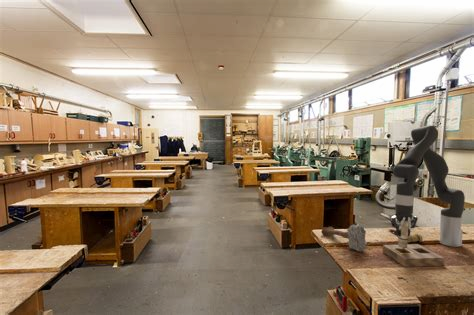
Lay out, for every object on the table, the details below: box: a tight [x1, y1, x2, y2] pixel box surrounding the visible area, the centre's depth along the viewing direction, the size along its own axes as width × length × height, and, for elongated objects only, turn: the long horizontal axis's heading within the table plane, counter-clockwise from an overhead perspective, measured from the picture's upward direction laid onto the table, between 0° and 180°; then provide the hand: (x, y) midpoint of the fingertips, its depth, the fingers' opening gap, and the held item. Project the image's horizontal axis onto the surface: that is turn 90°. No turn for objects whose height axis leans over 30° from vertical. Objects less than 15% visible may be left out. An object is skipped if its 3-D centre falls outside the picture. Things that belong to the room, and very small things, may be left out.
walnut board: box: [382, 243, 445, 268], centre depth 123 cm, size 20×16×4 cm
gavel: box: [388, 228, 423, 244], centre depth 153 cm, size 21×5×10 cm
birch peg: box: [397, 221, 408, 248], centre depth 122 cm, size 4×4×14 cm
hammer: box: [321, 223, 368, 253], centre depth 143 cm, size 15×10×30 cm
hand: (402, 235), depth 122 cm, fingers closed on birch peg, 4 cm apart
